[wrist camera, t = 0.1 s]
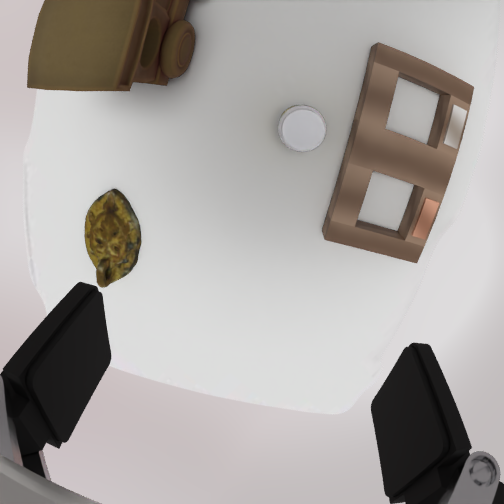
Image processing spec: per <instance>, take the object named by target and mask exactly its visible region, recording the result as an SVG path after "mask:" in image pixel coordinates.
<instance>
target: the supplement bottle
mask: <svg viewBox="0 0 504 504" xmlns="http://www.w3.org/2000/svg"><path fill="white" fill-rule="evenodd" d="M278 132H279V136H280V138H281V140H282V141H283V143H284V144H285V145H286V146H287V147H289V148H290V149H292V150H295V151H299V152H306V151H310V150H313V149H315V148H317V147H318V146H319V145H320V144H321V143H322V141H323V140H324V138H325V135H326V123H325V120H324V118H323V116H322V115H321V114H320V113H319V112H318V111H317V110H316V109H314V108H312V107H310V106H307V105H296V106H292V107H290V108H288V109H287V110H286V111H285V112H284V113H283V114H282V116H281V118H280V120H279V124H278Z"/></svg>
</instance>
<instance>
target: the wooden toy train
mask: <svg viewBox="0 0 504 504" xmlns="http://www.w3.org/2000/svg"><path fill="white" fill-rule="evenodd" d="M188 3H189V0H45V1H44V4H43V6H42V8H41V11H40V13H39V16H38V20H37V24H36V28H35V32H34V36H33V40H32V45H31V49H30V55H29V62H28V80H27V87H28V88H36V89H44V90H68V91H130V89H131V86H132V83H133V82H139V83H148V84H156V85H166V86H167V84H168V79H169V78H170V79H172V78H176V77H179V76H181V75H182V74H183V73H184V72H185V71H186V69H187V68H188V65H189V63H190V61H191V58H192V54H193V50H194V43H195V32H194V28H193V27H192V25H191V24H190V23H189V22H187V21H186V20H184V17H185V13H186V10H187V6H188Z"/></svg>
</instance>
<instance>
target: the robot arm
mask: <svg viewBox="0 0 504 504" xmlns="http://www.w3.org/2000/svg"><path fill="white" fill-rule="evenodd" d="M110 361H111V350H110V344H109V338H108V332H107V326H106V319H105V311H104V304H103V296H102V293H101V292H99V291H98V288H97V287H96V286H94V285H90V284H86V283H83V282H79V283H77V284H76V285H75V286H74V287H73V288H72V289H71V290H70V291H69V293H68V294H67V295H66V296H65V297H64V298H63V299H62V300H61V301H60V302H59V303H58V304H57V306H56V307H55V308H54V309H53V310H52V311H51V312H50V313H49V314H48V315H47V317H46V318H45V319H44V320H43V321H42V322H41V323H40V325H39V326H38V327H37V328H36V329H35V330H34V331H33V333H32V334H31V335H30V336H29V337H28V338H27V340H26V341H25V342H24V343H23V345H22V346H21V347H20V348H19V349H18V351H17V352H16V353H15V354H14V355H13V357H12V358H11V359H10V360H9V362H8V363H7V364H6V366H5V367H4V368H3V371H2V373H1V374H0V504H101V503H99V502H96V501H94V500H91V499H89V498H86V497H84V496H82V495H79V494H77V493H75V492H73V491H70V490H68V489H66V488H64V487H62V486H59V485H57V484H55V483H53V482H52V481H51V478H50V475H49V472H48V468H47V465H46V462H45V458H44V454H43V451H42V450H43V448H44V446H45V444H46V443H48V444H50V445H52V446H55V447H57V448H60V446H61V444H62V442H64V443H65V442H67V441H68V440H69V438H70V436H71V434H72V432H73V430H74V428H75V426H76V424H77V423H78V421H79V419H80V417H81V415H82V413H83V411H84V409H85V407H86V405H87V404H88V402H89V400H90V398H91V396H92V395H93V393H94V391H95V389H96V387H97V385H98V384H99V382H100V380H101V378H102V376H103V375H104V373H105V371H106V369H107V368H108V366H109V364H110ZM371 413H372V418H373V423H374V428H375V434H376V440H377V445H378V451H379V457H380V464H381V470H382V476H383V484H384V491H385V494H386V496H388V497H389V500H390V504H393V503H402V502H406V504H504V484H503V483H502V482H500V481H499V480H500V468H499V465H498V463H497V461H496V460H495V458H494V457H493V456H491V455H490V454H489V453H486V452H483V451H477V452H474V453H472V454H471V455H470V453H469V450H470V449H471V448H472V446H471V444H470V441H469V438H468V435H467V432H466V430H465V427H464V424H463V421H462V419H461V416H460V414H459V411H458V408H457V406H456V403H455V401H454V399H453V396H452V394H451V391H450V389H449V386H448V384H447V382H446V379H445V377H444V375H443V373H442V370H441V368H440V366H439V364H438V361H437V360H436V357H435V355H434V353H433V351H432V348H431V347H430V345H428V344H422V343H412V344H410V345H409V347H406V348H405V349H404V350H403V352H402V354H401V355H400V357H399V359H398V361H397V362H396V364H395V366H394V367H393V369H392V371H391V372H390V374H389V376H388V377H387V379H386V380H385V382H384V384H383V385H382V387H381V388H380V390H379V391H378V393H377V395H376V396H375V398H374V399H373V401H372V404H371Z"/></svg>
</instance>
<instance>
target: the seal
mask: <svg viewBox="0 0 504 504" xmlns="http://www.w3.org/2000/svg"><path fill="white" fill-rule="evenodd" d="M85 243H86V248H87V252H88V254H89V257H90V259H91V260H92V262H93V264H94V266H95V267H96V269H97V270H96V277H97V283H98V285H99V286H100V287H107V286H108V285H109V284H110V283H113V282H114V281H117V280H119V279H121V278H123V277H124V276H126V275H127V274H128V273H129V272H131V270H132V269H133V267H134V266H135V265H136V263H137V260H138V253H139V248H140V245H141V232H140V225H139V222H138V219H137V217H136V216H135V213H134V211H133V210H132V208H131V205H130V203H129V202H128V201H127V199H126V198H125V196H124V195H123V194H122V193H121V192H119V191H118V190H116V189H113V190H110V191H108V192H107V193H105V194H104V195H102V196H100V197H99V198H98V199H97V200H96V201H95V202H94V203H93V204H92V206H91V207H90V208H89V210H88V213H87V215H86V221H85Z"/></svg>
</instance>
